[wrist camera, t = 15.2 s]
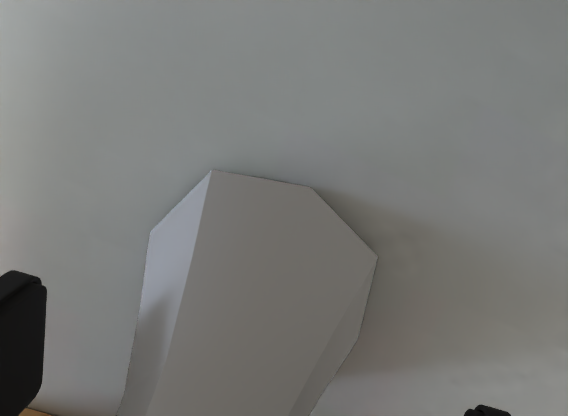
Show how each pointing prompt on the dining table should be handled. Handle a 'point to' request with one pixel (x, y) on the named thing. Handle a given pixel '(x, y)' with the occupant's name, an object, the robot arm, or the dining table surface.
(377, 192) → the dining table surface
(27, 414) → the chest
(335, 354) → the flask
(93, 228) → the dining table surface
